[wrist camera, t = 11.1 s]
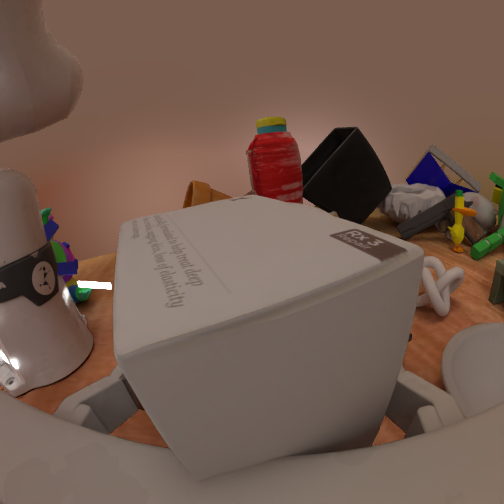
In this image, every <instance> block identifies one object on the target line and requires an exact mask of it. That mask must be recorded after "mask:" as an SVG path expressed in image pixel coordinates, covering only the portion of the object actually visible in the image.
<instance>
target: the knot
mask: <svg viewBox="0 0 504 504" xmlns="http://www.w3.org/2000/svg"><path fill="white" fill-rule="evenodd" d="M428 267H432V268H433V269H434V270H435V272H436V275H437V279H438V280H437V281H436V282H434V279H433V276H432V274H431V271H430V269H429V268H428ZM463 279H464V271H463V269H462V268H460V267H453V268H451V269H449V270H448V271H446V270H445V267H444V265H443V263H442V262H441V261H440V260H439V259H438V258H436V257H434V256H427V257H424V263H423V270H422V277H421V280H422V284H423V287H424V290H425V292H426V293H424V294H423V295H421V296H418V299H417V304H416V307H423V306H426V305H428V304H429V303H431V305H432V307H433V309H434V310H435V312H436V313H437V314H438V315H439V316H441V317H444V316H446V315H447V314H448V313H449V310H450V294H451V293H452V292H454V291H455V290H456V289H457V288H458V287H459V286H460V285H461V283H462V281H463Z"/></svg>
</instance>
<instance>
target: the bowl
mask: <svg viewBox="0 0 504 504" xmlns="http://www.w3.org/2000/svg"><path fill="white" fill-rule="evenodd" d="M391 186H392V190H391V192H390V193H389V194H388V195H387V196H386V197H385V198H384V199H383V201H382V202H381V203H380V204H379V205H378V206H377V209H379V211H380V216H381V213H383V214H384V215H386V216H387V217H388V218H390V219H392V220H393V221H395V222H398V223H404V222H405V221H407V220H409V219H411V218H413V217H414V216H416V215H418V214H420V213H421V212H423V211H425V210H427V209H428V208H430V207H432V206H434V205H435V204H437V203H439V202H441V201H442V200H444V199H446V197H445V195H444V193H443V191H442V190H441V189H439V188H438V187H435V186H429V185H427V184H420V183H416V184H412V185H405V184H395V185H394V184H391Z"/></svg>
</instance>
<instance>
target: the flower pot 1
mask: <svg viewBox="0 0 504 504" xmlns="http://www.w3.org/2000/svg"><path fill="white" fill-rule="evenodd" d="M230 198H232V197H230V196H228V195H225V194H223V193H221V192H218V191H216V190H214V189H211V188H210V186H209V185H208V184H207V183H203V182H198V181H191V182H190V184H189V186H188V189H187V192H186V196H185V200H184V205H183V208H187V207H192V206H196V205H201V204H205V203H209V202H214V201H219V200H225V199H230Z"/></svg>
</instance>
